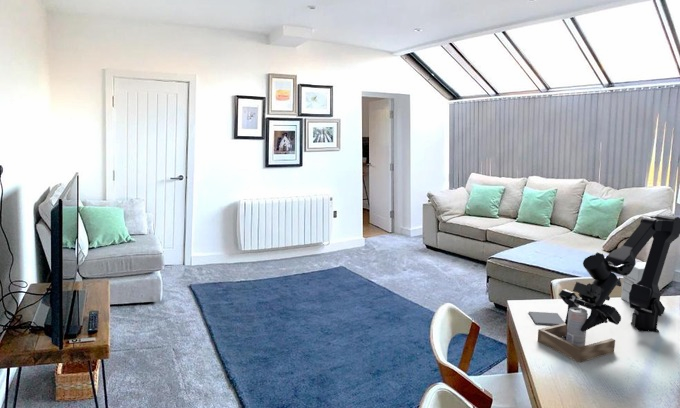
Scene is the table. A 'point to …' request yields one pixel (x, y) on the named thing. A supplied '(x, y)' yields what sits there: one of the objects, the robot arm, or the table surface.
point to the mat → (546, 318)
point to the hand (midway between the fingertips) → (573, 327)
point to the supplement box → (632, 279)
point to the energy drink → (576, 326)
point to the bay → (579, 354)
